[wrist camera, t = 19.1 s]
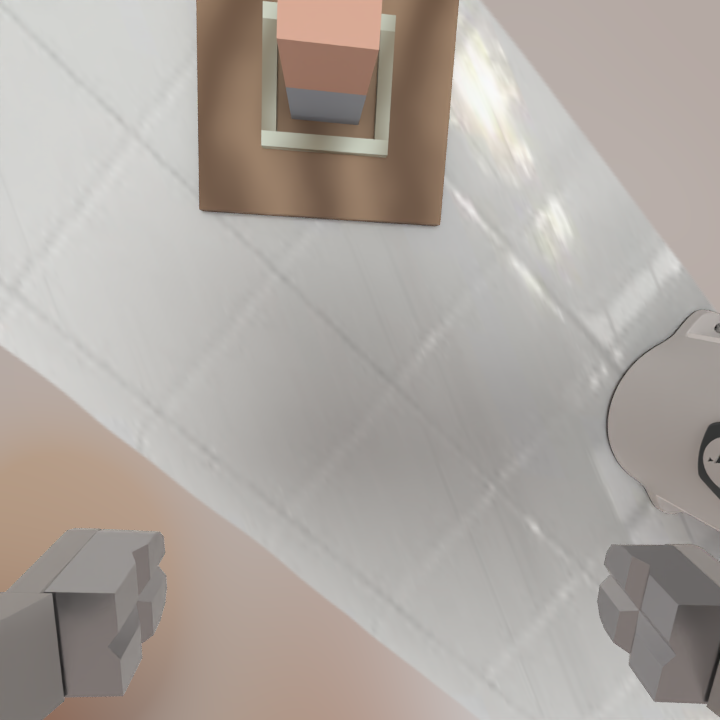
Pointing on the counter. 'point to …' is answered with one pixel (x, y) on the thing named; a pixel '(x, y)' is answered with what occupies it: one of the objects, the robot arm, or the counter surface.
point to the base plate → (324, 139)
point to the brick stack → (328, 56)
